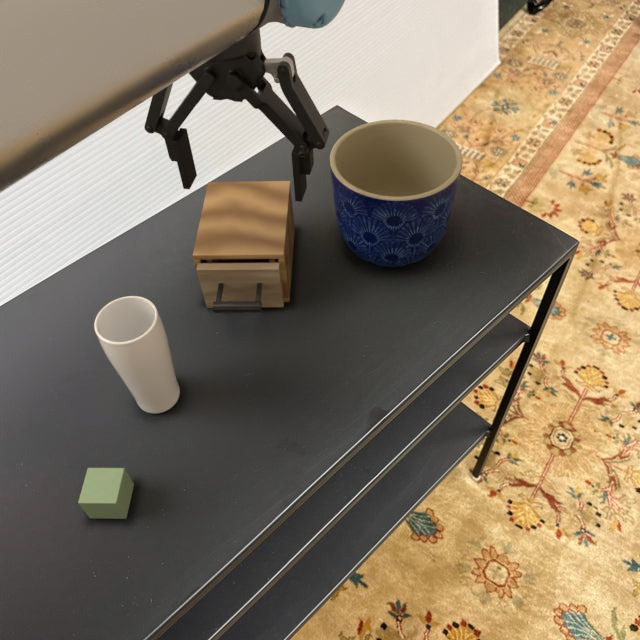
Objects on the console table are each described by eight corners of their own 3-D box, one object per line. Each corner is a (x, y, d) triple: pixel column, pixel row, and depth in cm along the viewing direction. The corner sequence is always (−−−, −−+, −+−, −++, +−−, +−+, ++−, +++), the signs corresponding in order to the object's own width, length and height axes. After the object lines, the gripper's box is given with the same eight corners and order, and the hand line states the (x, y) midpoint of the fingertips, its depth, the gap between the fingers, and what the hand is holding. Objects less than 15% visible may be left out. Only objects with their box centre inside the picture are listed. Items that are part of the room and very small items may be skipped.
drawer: (281, 333, 83) (276, 296, 78) (201, 334, 84) (190, 296, 78) (289, 237, 95) (285, 198, 89) (219, 238, 95) (210, 199, 90)
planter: (349, 296, 88) (349, 210, 76) (320, 216, 99) (316, 130, 87) (466, 272, 90) (484, 184, 78) (426, 196, 101) (435, 109, 89)
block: (89, 518, 69) (77, 503, 66) (99, 483, 72) (87, 467, 69) (126, 519, 69) (116, 503, 66) (134, 484, 72) (124, 467, 69)
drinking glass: (133, 377, 81) (96, 298, 69) (187, 371, 81) (159, 291, 70) (129, 424, 77) (89, 348, 65) (186, 417, 77) (156, 340, 65)
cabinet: (289, 302, 88) (283, 254, 81) (205, 302, 88) (192, 255, 81) (294, 229, 97) (290, 180, 90) (218, 230, 98) (208, 181, 91)
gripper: (356, -6, 60) (354, 178, 76) (108, -20, 64) (157, 158, 80) (341, 32, 55) (343, 220, 72) (74, 15, 59) (133, 196, 76)
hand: (245, 188), depth 76 cm, fingers open, 13 cm apart
